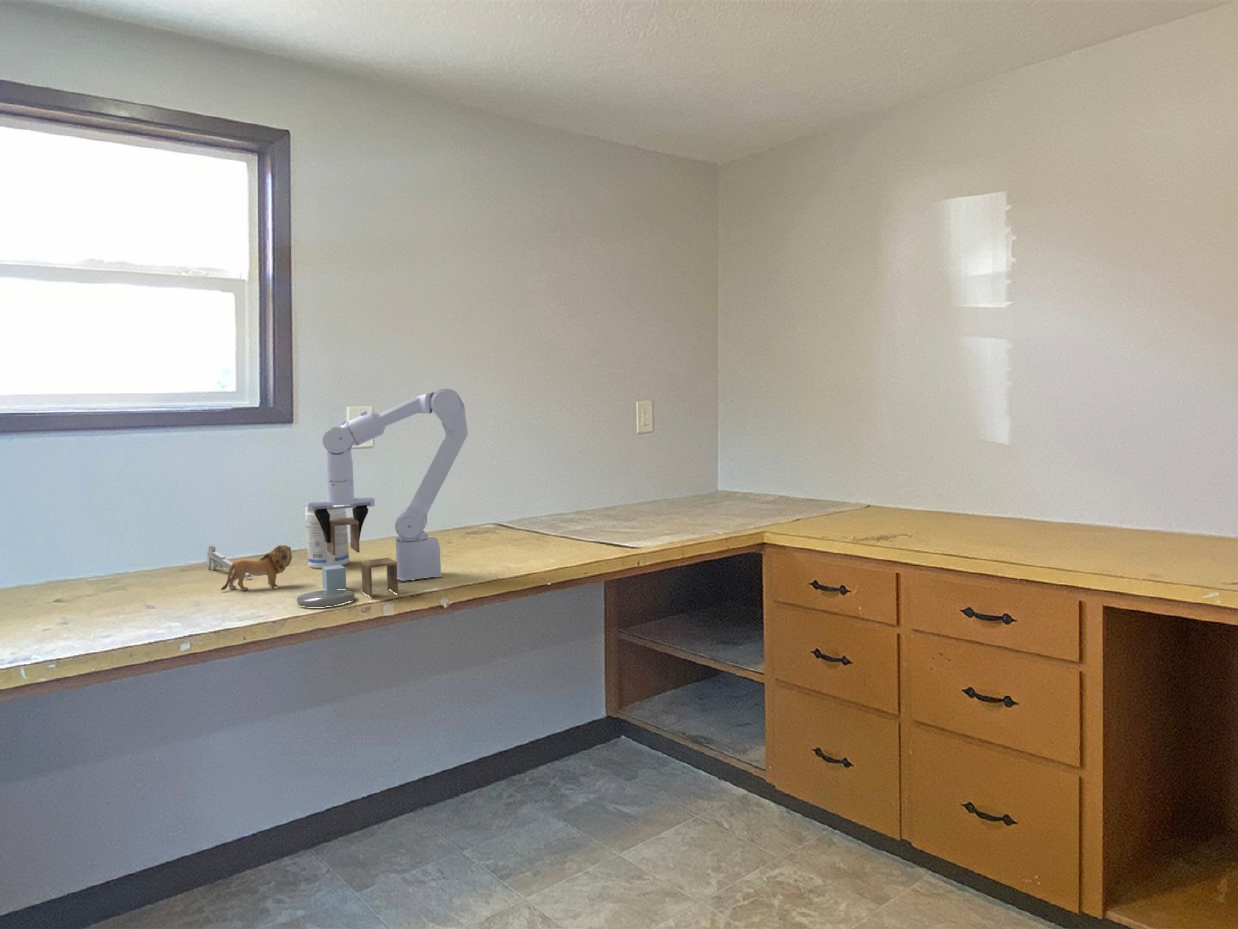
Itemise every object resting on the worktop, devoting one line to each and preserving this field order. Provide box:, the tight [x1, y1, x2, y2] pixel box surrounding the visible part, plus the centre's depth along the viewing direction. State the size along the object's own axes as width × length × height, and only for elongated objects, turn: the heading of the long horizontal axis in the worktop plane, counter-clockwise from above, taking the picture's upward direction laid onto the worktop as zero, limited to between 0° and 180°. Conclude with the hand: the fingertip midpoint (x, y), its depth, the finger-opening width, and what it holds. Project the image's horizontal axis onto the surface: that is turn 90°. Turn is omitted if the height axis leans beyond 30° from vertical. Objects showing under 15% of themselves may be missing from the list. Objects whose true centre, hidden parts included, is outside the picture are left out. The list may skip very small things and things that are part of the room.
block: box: [321, 565, 347, 590], centre depth 182 cm, size 4×4×5 cm
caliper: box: [206, 544, 254, 580], centre depth 200 cm, size 20×1×6 cm, turn 51°
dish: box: [296, 589, 355, 607], centre depth 172 cm, size 11×11×1 cm
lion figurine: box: [220, 544, 293, 591], centre depth 185 cm, size 15×5×9 cm, turn 120°
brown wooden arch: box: [327, 516, 361, 555], centre depth 190 cm, size 6×6×7 cm
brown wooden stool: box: [360, 557, 399, 597], centre depth 177 cm, size 6×6×7 cm
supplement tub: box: [304, 505, 350, 569], centre depth 208 cm, size 10×10×15 cm
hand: (342, 540), depth 191 cm, fingers closed on brown wooden arch, 6 cm apart
